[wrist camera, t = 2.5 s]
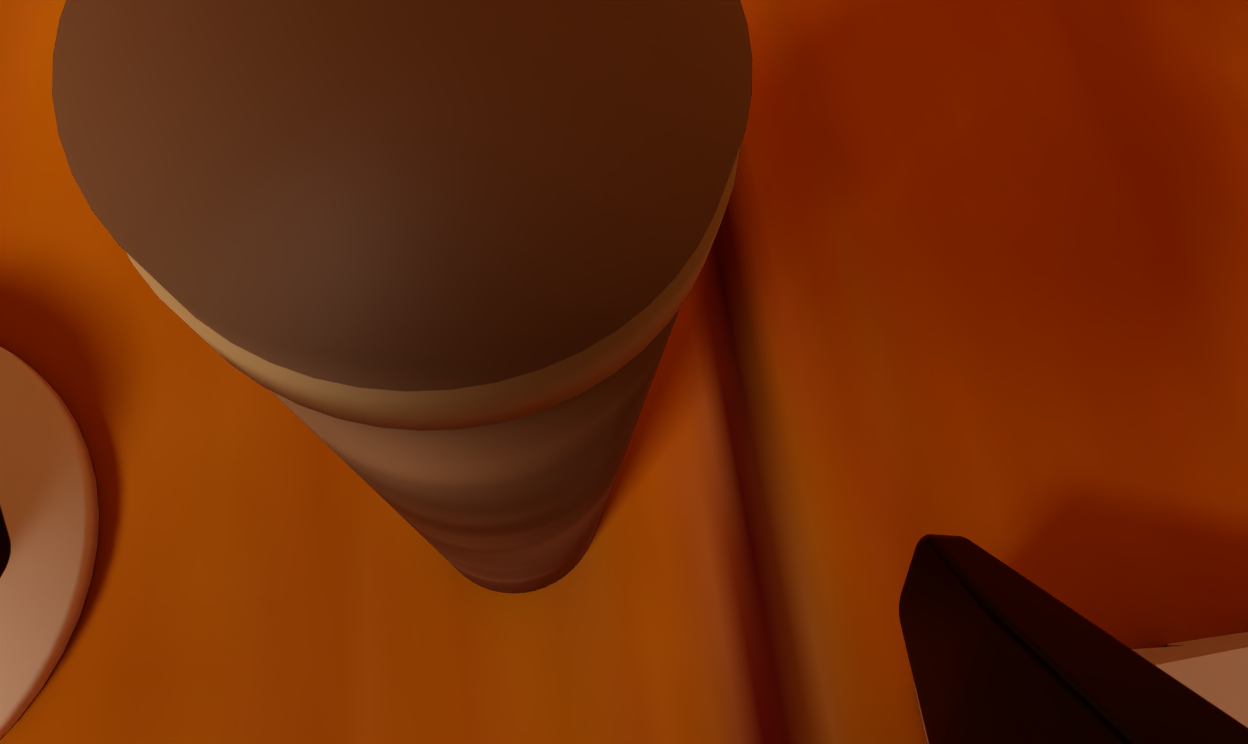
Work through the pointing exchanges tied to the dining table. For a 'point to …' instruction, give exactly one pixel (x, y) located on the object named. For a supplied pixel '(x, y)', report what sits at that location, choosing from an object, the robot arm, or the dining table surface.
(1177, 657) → the decorative molding
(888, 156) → the dining table surface
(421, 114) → the brown tapered rod
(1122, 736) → the robot arm
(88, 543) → the cup bracket
